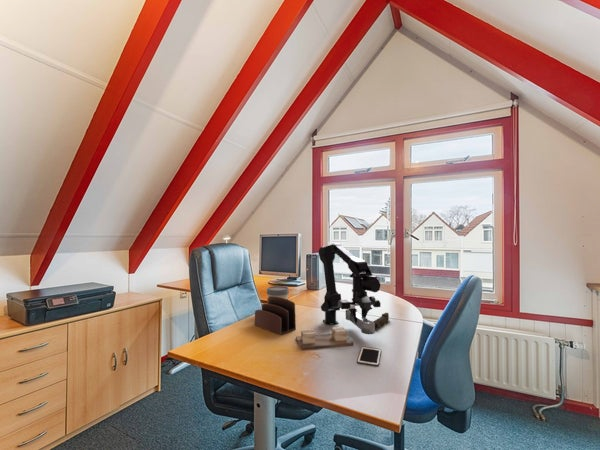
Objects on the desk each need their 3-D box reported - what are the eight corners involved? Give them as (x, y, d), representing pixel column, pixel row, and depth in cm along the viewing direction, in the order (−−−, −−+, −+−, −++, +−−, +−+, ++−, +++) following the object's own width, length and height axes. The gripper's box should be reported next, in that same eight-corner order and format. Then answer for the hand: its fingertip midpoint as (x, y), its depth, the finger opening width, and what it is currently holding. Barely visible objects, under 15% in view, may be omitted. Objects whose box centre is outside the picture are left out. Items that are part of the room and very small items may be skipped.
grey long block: (343, 317, 141) (343, 309, 141) (354, 316, 142) (354, 308, 142) (364, 334, 118) (364, 325, 118) (377, 333, 119) (377, 324, 119)
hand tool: (377, 331, 136) (377, 321, 137) (369, 329, 139) (369, 319, 139) (393, 321, 151) (393, 312, 151) (386, 320, 153) (386, 311, 153)
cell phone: (381, 351, 114) (381, 348, 114) (378, 368, 100) (378, 365, 100) (361, 348, 117) (361, 346, 117) (356, 364, 103) (356, 361, 103)
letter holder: (269, 321, 151) (269, 294, 151) (296, 330, 137) (296, 300, 137) (254, 325, 144) (254, 297, 144) (280, 335, 130) (280, 304, 130)
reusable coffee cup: (262, 315, 159) (262, 288, 160) (275, 310, 170) (275, 285, 170) (280, 319, 153) (280, 291, 153) (293, 313, 163) (293, 287, 164)
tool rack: (295, 338, 126) (295, 327, 126) (342, 335, 131) (342, 324, 131) (301, 350, 114) (301, 337, 114) (353, 345, 119) (353, 333, 119)
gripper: (346, 293, 120) (346, 330, 120) (386, 291, 124) (386, 327, 124) (337, 287, 131) (337, 321, 131) (374, 286, 135) (374, 319, 135)
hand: (359, 322), depth 130 cm, fingers closed on grey long block, 3 cm apart
